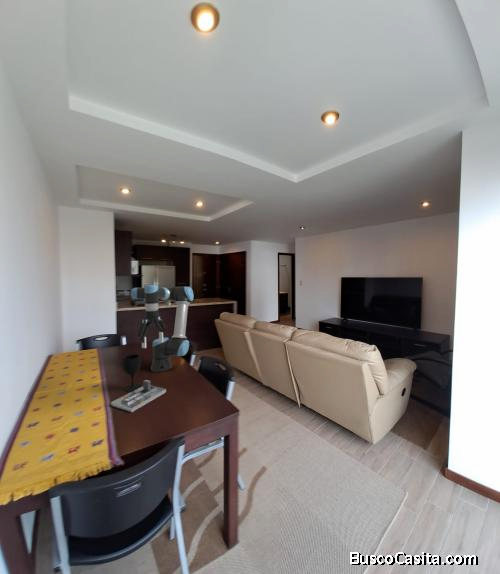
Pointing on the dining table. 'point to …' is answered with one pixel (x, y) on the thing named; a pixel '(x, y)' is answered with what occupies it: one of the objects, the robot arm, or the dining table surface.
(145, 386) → the fader knob
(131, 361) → the wine glass
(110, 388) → the dining table surface
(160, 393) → the console
